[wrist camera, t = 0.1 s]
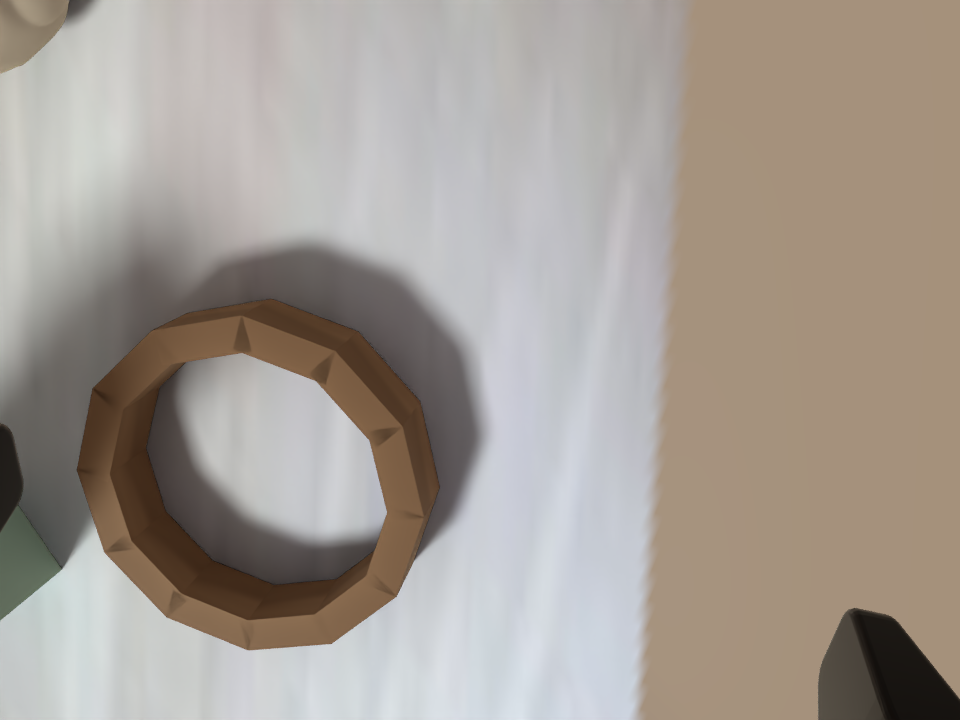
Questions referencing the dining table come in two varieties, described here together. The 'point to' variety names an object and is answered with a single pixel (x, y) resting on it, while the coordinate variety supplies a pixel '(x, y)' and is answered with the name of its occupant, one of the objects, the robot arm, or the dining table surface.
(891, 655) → the robot arm
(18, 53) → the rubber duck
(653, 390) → the dining table surface
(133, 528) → the walnut ring
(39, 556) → the green rectangular block
